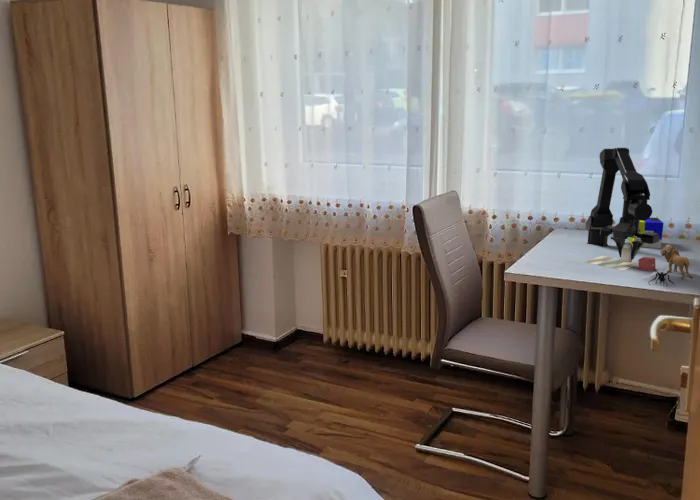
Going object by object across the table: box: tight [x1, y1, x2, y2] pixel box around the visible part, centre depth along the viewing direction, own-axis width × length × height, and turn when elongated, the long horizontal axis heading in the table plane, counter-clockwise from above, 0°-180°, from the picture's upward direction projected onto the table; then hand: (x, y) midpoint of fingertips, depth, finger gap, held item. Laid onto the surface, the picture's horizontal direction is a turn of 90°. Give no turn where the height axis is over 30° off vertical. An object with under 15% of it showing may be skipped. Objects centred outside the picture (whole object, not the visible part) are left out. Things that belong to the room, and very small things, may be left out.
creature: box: [648, 268, 675, 288], centre depth 215 cm, size 8×5×8 cm
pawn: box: [620, 241, 633, 263], centre depth 234 cm, size 4×4×7 cm
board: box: [584, 255, 639, 271], centre depth 239 cm, size 15×14×1 cm
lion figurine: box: [659, 244, 694, 280], centre depth 227 cm, size 15×5×9 cm, turn 14°
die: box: [637, 256, 656, 272], centre depth 231 cm, size 4×4×4 cm
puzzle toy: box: [628, 217, 664, 249], centre depth 268 cm, size 10×10×10 cm
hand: (626, 258), depth 235 cm, fingers closed on pawn, 4 cm apart
